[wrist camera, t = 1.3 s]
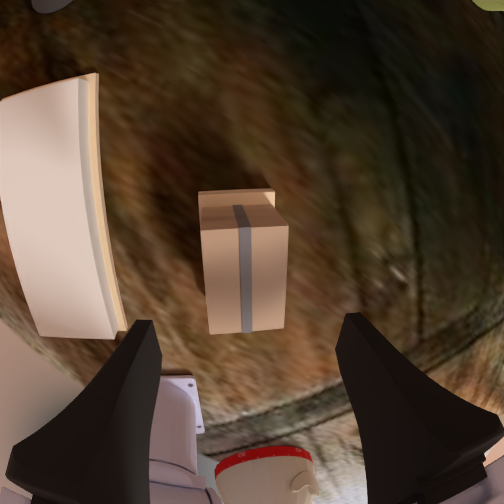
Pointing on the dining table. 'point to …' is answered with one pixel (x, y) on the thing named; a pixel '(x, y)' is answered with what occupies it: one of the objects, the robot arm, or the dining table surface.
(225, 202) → the taped parcel
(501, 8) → the plant pot
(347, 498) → the dining table surface
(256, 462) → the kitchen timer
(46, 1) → the sundae
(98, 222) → the dock
